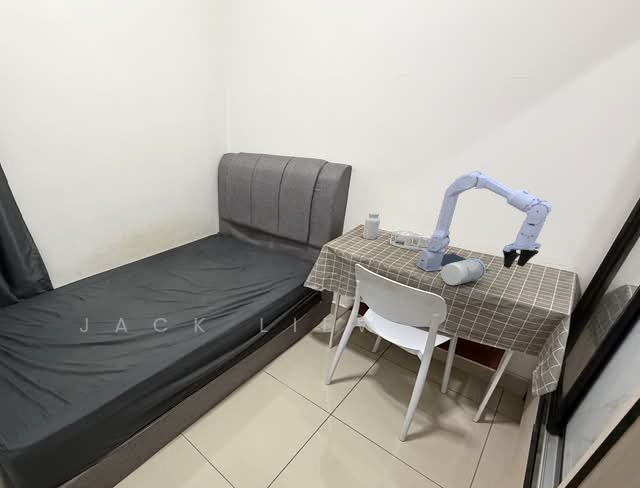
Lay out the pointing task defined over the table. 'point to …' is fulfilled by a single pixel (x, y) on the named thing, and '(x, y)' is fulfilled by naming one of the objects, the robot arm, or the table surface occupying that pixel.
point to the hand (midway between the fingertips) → (513, 266)
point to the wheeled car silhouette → (405, 237)
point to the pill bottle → (371, 226)
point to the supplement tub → (463, 271)
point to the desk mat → (451, 259)
